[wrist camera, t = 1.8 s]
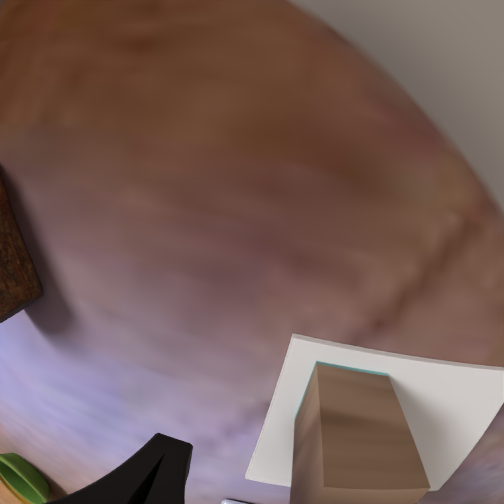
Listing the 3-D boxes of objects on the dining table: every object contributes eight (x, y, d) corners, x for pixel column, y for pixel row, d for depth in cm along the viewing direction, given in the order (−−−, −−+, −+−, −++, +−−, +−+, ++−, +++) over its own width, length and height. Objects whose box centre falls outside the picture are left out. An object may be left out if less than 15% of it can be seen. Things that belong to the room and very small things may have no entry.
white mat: (436, 486, 17) (438, 490, 16) (245, 473, 18) (244, 478, 18) (516, 368, 14) (520, 371, 14) (292, 333, 16) (292, 337, 15)
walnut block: (359, 426, 16) (378, 538, 8) (294, 417, 16) (286, 535, 8) (386, 372, 15) (430, 487, 7) (316, 360, 15) (323, 486, 7)
